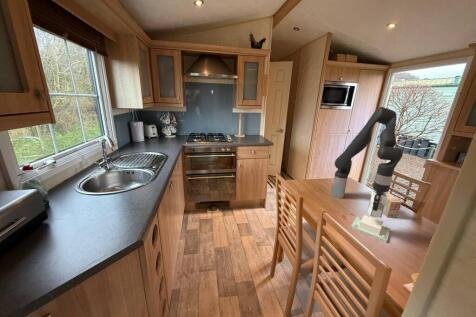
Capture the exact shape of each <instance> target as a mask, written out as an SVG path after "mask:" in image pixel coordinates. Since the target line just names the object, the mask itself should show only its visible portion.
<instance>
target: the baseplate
mask: <svg viewBox="0 0 476 317" xmlns="http://www.w3.org/2000/svg"><path fill="white" fill-rule="evenodd" d="M383 223H384V221H383V220H380V219H378V218H376V217H375V218H374V217H373V216H370V215H369V216H368V215H366V214H363V215H362V217H360V216H355V219H354V220H353V221H352V223H351V225H350V229H351V230H354V231H357V232H359V233H362V234H364V235H367V236H369V237H372V238H374V239H376V240H379V241H381V242H384V243H387V242H388V238H389V236H390V231H391V228H390V227H388V226H385V225H383Z"/></svg>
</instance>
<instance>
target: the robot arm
mask: <svg viewBox="0 0 476 317" xmlns="http://www.w3.org/2000/svg"><path fill="white" fill-rule="evenodd" d="M397 115H398V114H397V112H396V111H394V110H393V109H389V108H387V107H384V106H380V107H378V108H376V110H375V111H374V112H373V113H372V114H371V116H370V117H369V119H368V120H367V122H366V123H365V124H364V126H363V127H362V129H361V130H360V131H359V132H358V133H357V135H356V136H354V138H353V139H352V140H351V142H350V143H349V145H348V146H347V147H346V148H345V150H344V151H343V152H342V153H341V154H340V155H339V156H338V157H337V158H336V159H335V161H334V166H335V168H336V169H337V170H336V171H334V177H333V183H332V184H331V190H330V196H332V197H334V198H336V199H343V198H344V197H345V193H346V188H347V183H348V177H349V176H350V173H351V169H352V165H353V161H352V159H353V158H354V157H355V156H357V155H358V154H360V153H361V152H362V151H363V150H364V149H365V148H366V147H367V146H369V144H370V142H371V141H372V132H373V128H374V126H375V125H376V124H377V123H378V124H381V125H384V126H385V128H384V129H383V130H382V131H381V132H380V134H379V149H378V150H377V154H376V155H377V157H378V159H380V160H384V161H388V162H381V163H379V164H378V166H377V171H376V173H375V176H374V179H373V180H374V181H373V184H372V188H373V190H374V191H377V192H375V193H376V195H375V198H374V202H373V204H374V205H373V209H372V210H374V211H377V209H378V206H379V202H381V199H382V197H381V195H384V194H382V193H383V192H384V193H389V192H390V187H391V185H392V180H393V176H394V171H395V169H396V167H397V165H398V163H399V162H400V161H401V159H402V158H403V156H404V155H403V154H404V151H403V150H402V149H401V148H400V147H396V146H397V138H396V126H397V118H398V117H397ZM380 198H381V199H380ZM375 201H376V202H378V203H375Z"/></svg>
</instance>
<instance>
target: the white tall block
mask: <svg viewBox="0 0 476 317" xmlns="http://www.w3.org/2000/svg"><path fill="white" fill-rule="evenodd" d="M375 192H377V190H372V192H371V195H370V199H369V203H368V206H367V212H368V214H369V217H372V218H374V217H375V218H379V219H381V218H382V216H383V210H384V206H385V203H386V199H387V195H386V194H385V193H386V192H383V193H382V194H384V195H381V197H382V199H381V198H380V199H381V202H379V206H378V209H377V211H374V210H372V209H373V205H374V204H373V202H374V198H375V195H376V193H375ZM375 203H378V202H376V201H375Z"/></svg>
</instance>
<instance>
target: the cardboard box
mask: <svg viewBox="0 0 476 317" xmlns="http://www.w3.org/2000/svg"><path fill="white" fill-rule="evenodd" d="M384 193H385V194H386V195H387V199H386V203H385V206H384V210H383V213H382V215H384V216H385V217H386V218H390V219H391V218H392V219H398V215H399V212H400V210H401V206H402V201H400V200H399V198H397V197H396V196H394V195H393V194H391V193H390V192H384Z"/></svg>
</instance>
